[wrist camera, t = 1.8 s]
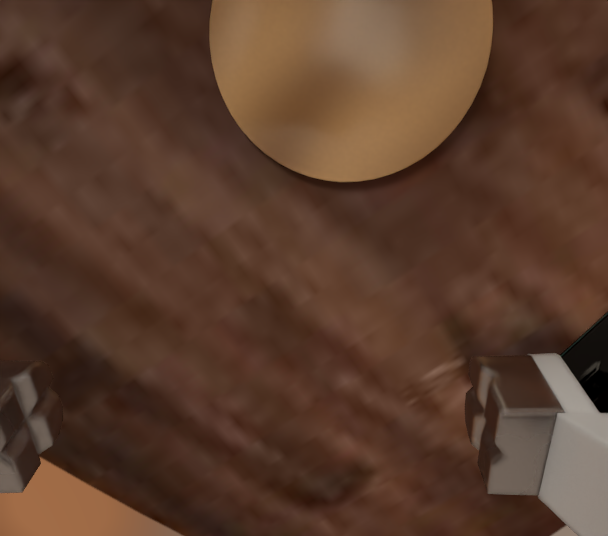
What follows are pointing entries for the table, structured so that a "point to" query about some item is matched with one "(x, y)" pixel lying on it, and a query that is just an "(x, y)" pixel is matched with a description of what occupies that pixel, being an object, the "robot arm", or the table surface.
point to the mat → (349, 78)
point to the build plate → (591, 362)
